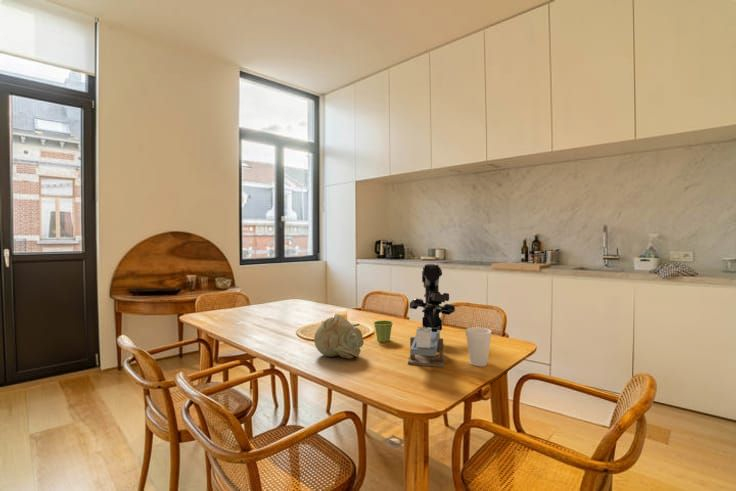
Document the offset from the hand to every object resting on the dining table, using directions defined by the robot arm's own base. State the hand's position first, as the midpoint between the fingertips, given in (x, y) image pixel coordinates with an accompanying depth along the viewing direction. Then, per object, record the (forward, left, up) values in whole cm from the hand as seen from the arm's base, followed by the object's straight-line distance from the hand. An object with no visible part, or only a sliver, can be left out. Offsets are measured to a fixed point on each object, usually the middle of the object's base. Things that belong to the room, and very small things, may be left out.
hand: (432, 326), depth 152 cm
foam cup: (+16, +9, -13) cm, 22 cm away
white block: (+12, -15, -3) cm, 20 cm away
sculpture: (-21, -33, -13) cm, 41 cm away
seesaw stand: (+4, -7, -12) cm, 15 cm away
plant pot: (-30, -5, -13) cm, 33 cm away
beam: (+5, -8, -10) cm, 14 cm away
